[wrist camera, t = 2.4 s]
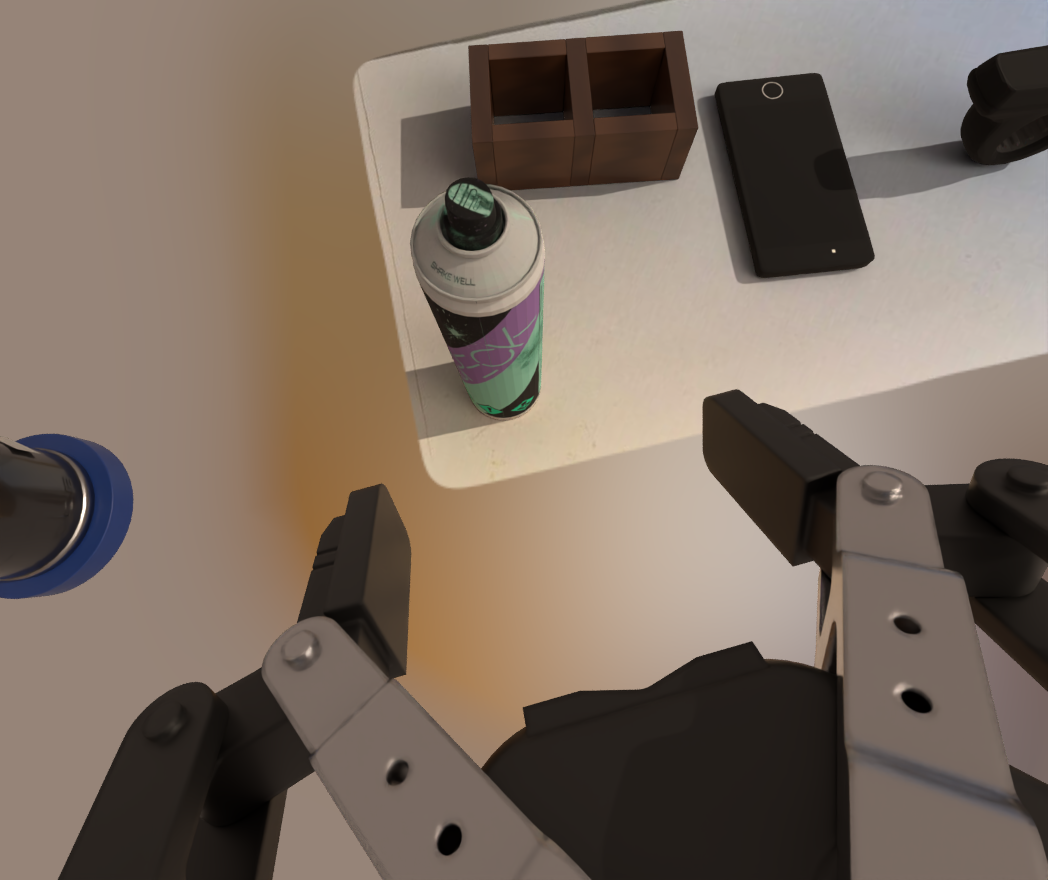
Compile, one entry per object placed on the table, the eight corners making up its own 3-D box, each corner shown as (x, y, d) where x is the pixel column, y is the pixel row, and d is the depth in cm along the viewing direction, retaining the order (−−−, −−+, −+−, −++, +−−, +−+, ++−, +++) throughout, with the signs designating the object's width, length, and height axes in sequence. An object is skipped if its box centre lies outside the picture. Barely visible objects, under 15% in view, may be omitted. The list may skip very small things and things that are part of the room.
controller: (1062, 165, 39) (1237, 38, 29) (913, 186, 39) (1038, 66, 29) (1042, 122, 40) (1204, -15, 30) (896, 142, 40) (1012, 12, 30)
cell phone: (814, 81, 41) (821, 71, 40) (869, 268, 37) (877, 260, 36) (712, 92, 41) (716, 82, 40) (755, 279, 37) (761, 273, 36)
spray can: (463, 358, 37) (380, 145, 17) (533, 345, 37) (530, 118, 17) (474, 426, 36) (400, 280, 16) (547, 413, 36) (560, 251, 16)
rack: (479, 192, 40) (471, 143, 35) (476, 103, 42) (468, 45, 37) (678, 179, 40) (698, 127, 35) (665, 90, 42) (682, 30, 37)
